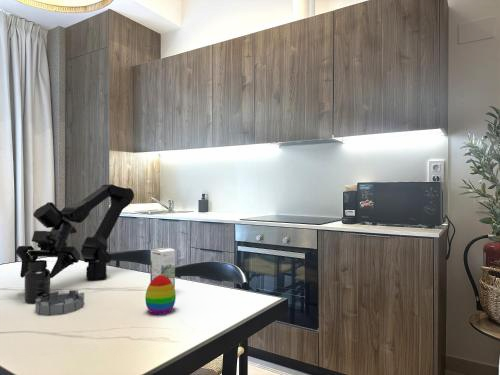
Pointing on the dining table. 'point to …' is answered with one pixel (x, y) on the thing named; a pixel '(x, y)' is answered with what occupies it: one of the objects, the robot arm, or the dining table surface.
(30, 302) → the supplement bottle
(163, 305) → the decorative egg
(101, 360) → the dining table surface
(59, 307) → the grey segmented ring
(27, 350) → the dining table surface
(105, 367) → the dining table surface
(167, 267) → the syrup box
